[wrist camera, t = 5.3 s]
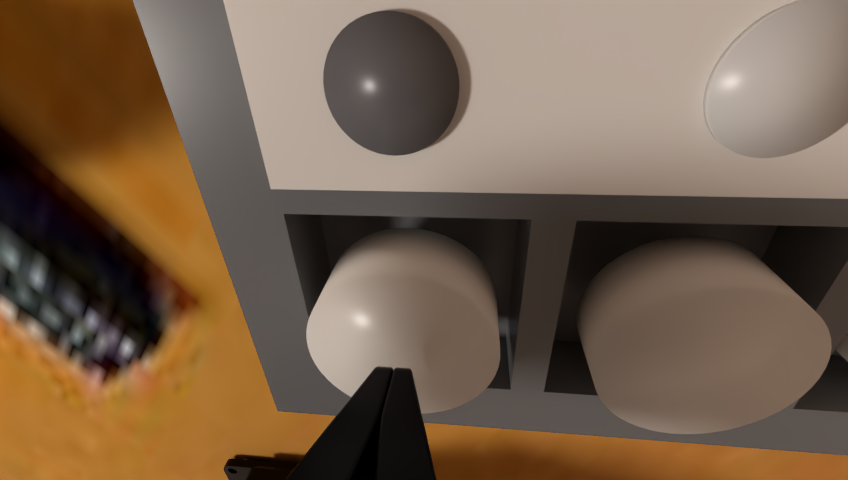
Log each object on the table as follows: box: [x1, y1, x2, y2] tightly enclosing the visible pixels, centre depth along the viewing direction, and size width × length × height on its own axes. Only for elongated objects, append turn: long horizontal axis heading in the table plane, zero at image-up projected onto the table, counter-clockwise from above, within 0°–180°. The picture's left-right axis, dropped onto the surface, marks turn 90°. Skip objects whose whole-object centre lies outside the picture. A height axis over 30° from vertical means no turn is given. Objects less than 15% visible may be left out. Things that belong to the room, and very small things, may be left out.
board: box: [133, 0, 848, 455], centre depth 10 cm, size 14×24×4 cm, turn 92°
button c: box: [306, 228, 500, 414], centre depth 11 cm, size 5×5×2 cm
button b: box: [576, 236, 832, 434], centre depth 10 cm, size 5×5×2 cm
